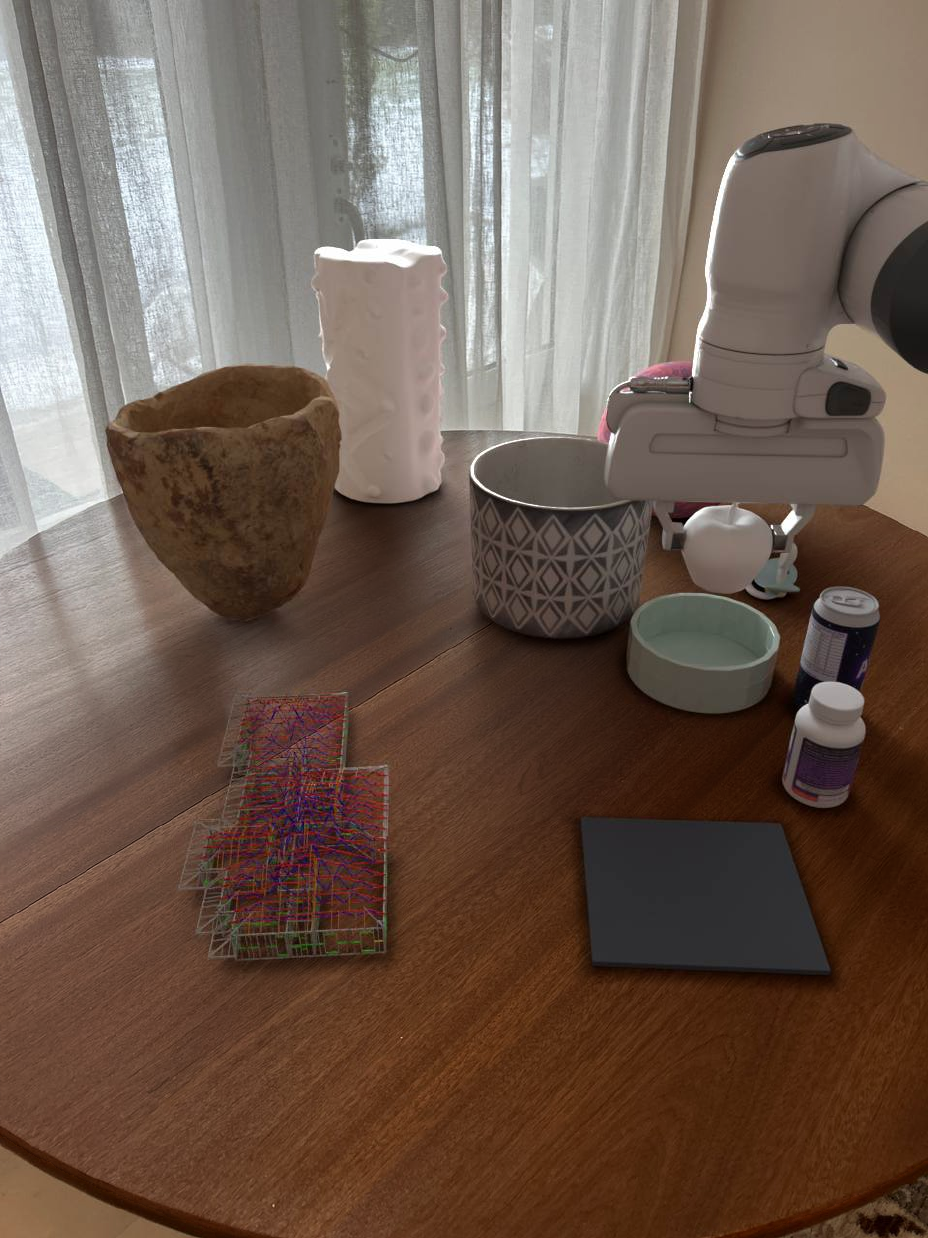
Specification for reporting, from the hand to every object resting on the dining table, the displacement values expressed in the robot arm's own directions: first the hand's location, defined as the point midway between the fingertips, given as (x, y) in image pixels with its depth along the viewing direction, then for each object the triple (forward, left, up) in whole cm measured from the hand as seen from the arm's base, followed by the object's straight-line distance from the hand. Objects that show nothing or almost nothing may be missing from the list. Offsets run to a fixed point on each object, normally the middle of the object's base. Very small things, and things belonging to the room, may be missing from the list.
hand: (725, 548), depth 74 cm
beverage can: (-13, -5, -19) cm, 24 cm away
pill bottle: (-9, +7, -20) cm, 22 cm away
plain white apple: (0, 0, -3) cm, 3 cm away
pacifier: (-13, -28, -20) cm, 36 cm away
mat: (+3, +18, -19) cm, 27 cm away
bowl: (+46, -21, -20) cm, 54 cm away
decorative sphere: (-4, -49, -20) cm, 53 cm away
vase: (+35, -57, -19) cm, 69 cm away
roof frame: (+34, +12, -19) cm, 41 cm away
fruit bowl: (-2, -11, -19) cm, 22 cm away
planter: (+12, -23, -19) cm, 32 cm away
